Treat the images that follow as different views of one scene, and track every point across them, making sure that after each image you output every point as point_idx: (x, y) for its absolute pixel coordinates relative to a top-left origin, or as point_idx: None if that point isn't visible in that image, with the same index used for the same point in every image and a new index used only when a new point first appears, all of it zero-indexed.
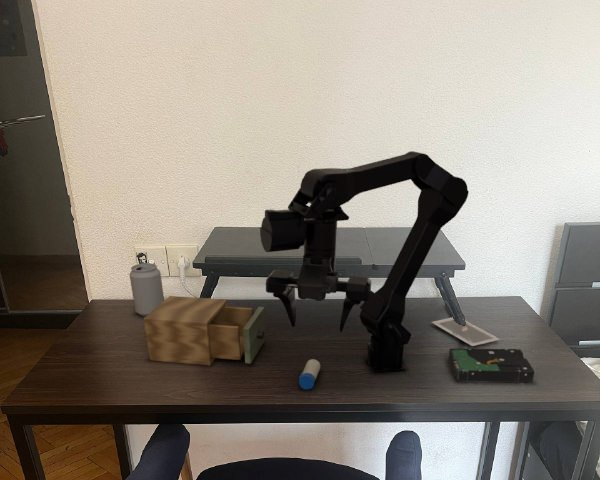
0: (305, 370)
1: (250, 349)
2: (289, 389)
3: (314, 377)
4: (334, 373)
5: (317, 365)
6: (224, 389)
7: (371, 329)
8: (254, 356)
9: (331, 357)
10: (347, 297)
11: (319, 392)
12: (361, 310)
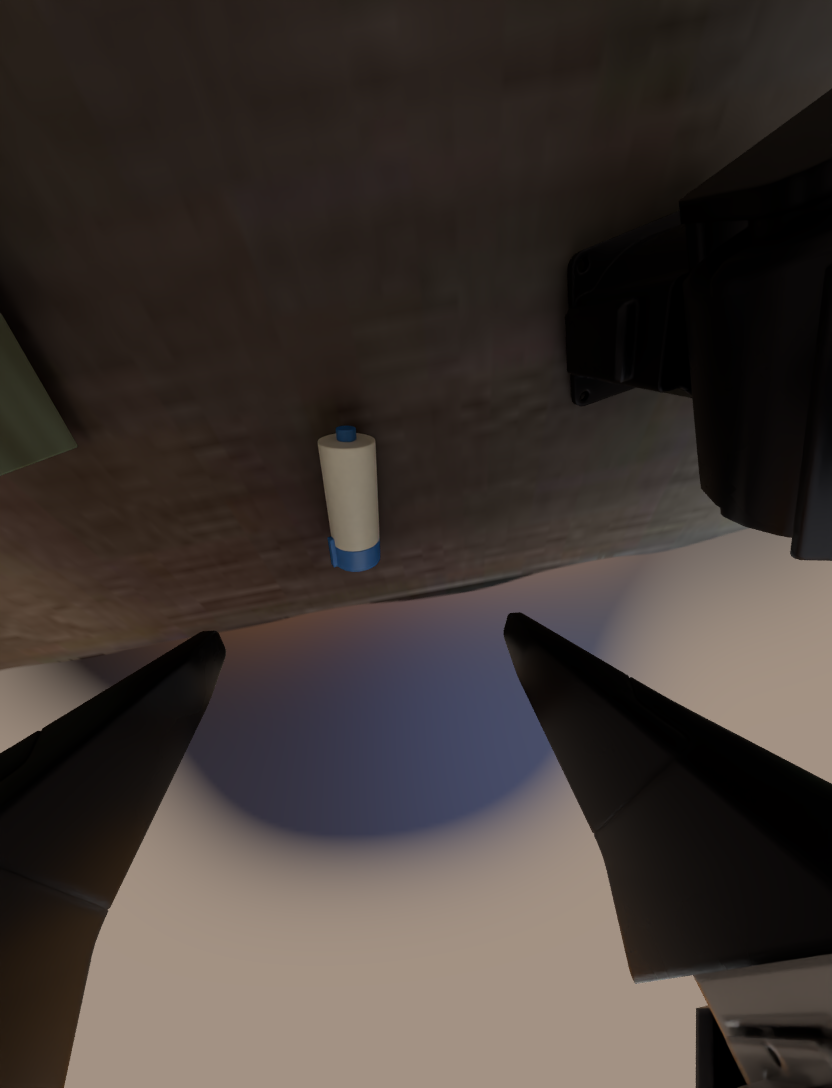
0: (340, 532)
1: (11, 459)
2: (311, 552)
3: (377, 543)
4: (427, 429)
5: (370, 476)
6: (131, 585)
7: (700, 450)
8: (35, 382)
9: (395, 255)
10: (697, 1057)
11: (398, 550)
12: (811, 261)
